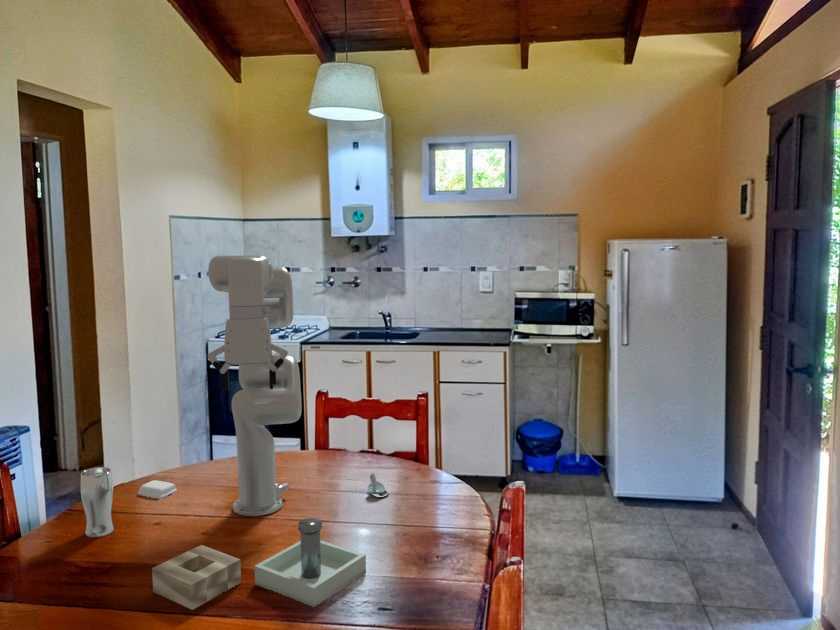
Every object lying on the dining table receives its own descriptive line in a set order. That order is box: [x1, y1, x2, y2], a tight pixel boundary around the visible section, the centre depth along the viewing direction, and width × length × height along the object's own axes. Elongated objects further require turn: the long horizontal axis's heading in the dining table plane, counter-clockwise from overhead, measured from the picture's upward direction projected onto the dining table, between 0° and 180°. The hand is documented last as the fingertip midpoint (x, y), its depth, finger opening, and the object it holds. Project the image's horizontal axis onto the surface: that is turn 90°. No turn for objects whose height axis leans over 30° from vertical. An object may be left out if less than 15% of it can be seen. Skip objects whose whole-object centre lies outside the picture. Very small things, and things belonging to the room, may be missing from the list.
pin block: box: [151, 544, 242, 611], centre depth 135 cm, size 12×12×5 cm
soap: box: [137, 479, 178, 500], centre depth 185 cm, size 9×7×3 cm
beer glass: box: [80, 466, 115, 538], centre depth 160 cm, size 7×7×15 cm
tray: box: [254, 539, 367, 608], centre depth 138 cm, size 16×16×4 cm
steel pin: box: [297, 517, 323, 579], centre depth 138 cm, size 5×5×11 cm
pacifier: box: [366, 472, 386, 495], centre depth 183 cm, size 7×6×6 cm
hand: (249, 389), depth 150 cm, fingers open, 9 cm apart
